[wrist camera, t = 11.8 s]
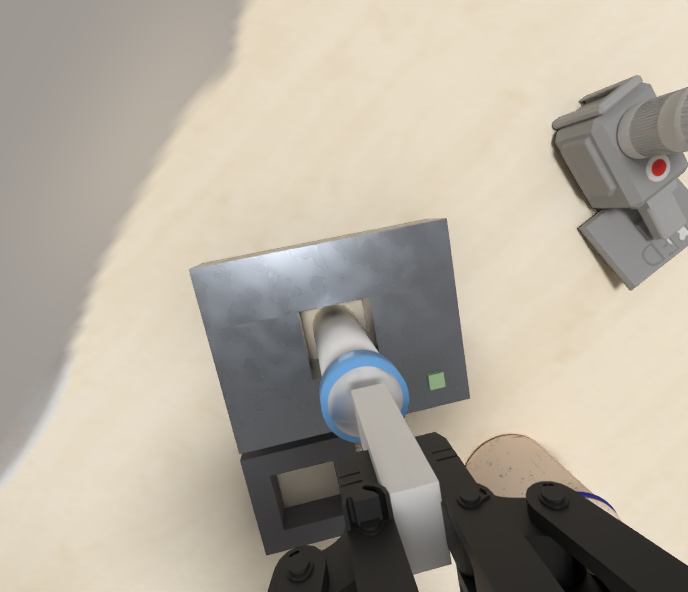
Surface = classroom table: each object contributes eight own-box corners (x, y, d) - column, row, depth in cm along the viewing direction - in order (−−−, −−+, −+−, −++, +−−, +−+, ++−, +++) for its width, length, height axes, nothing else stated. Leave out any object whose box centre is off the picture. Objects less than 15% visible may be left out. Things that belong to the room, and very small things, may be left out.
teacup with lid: (439, 490, 36) (506, 613, 25) (498, 413, 35) (594, 503, 24) (531, 543, 39) (629, 676, 27) (587, 472, 38) (713, 579, 27)
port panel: (246, 426, 33) (238, 456, 28) (202, 263, 30) (187, 269, 25) (449, 378, 34) (471, 400, 30) (427, 218, 31) (448, 218, 27)
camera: (798, -8, 20) (881, 228, 23) (610, 74, 31) (685, 224, 35) (661, 101, 20) (765, 319, 23) (524, 144, 31) (608, 285, 35)
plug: (314, 354, 32) (330, 452, 18) (304, 306, 31) (312, 371, 18) (363, 343, 32) (415, 431, 19) (354, 295, 32) (401, 351, 18)
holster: (268, 532, 35) (266, 555, 32) (244, 443, 33) (240, 461, 30) (365, 506, 35) (371, 527, 33) (347, 418, 34) (352, 434, 31)
